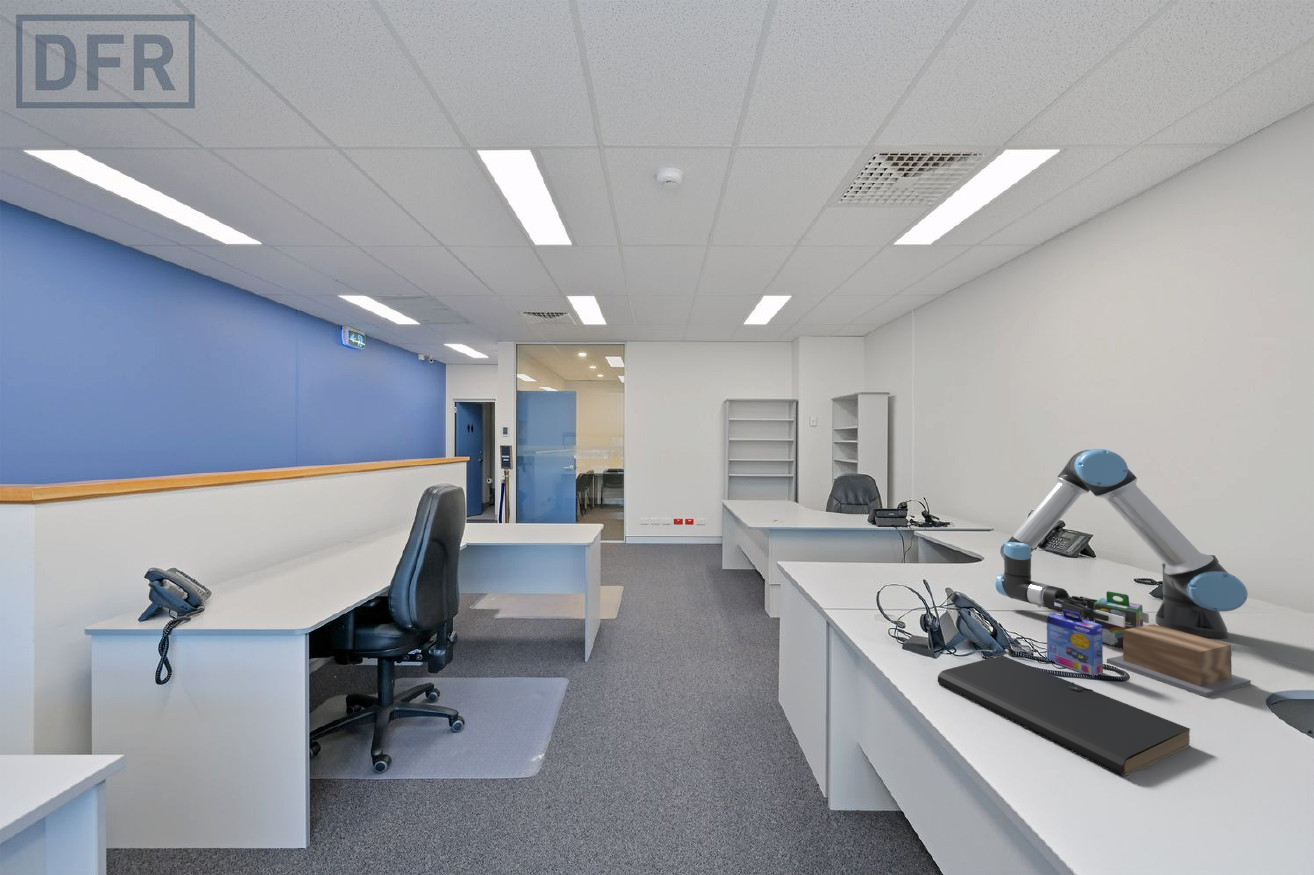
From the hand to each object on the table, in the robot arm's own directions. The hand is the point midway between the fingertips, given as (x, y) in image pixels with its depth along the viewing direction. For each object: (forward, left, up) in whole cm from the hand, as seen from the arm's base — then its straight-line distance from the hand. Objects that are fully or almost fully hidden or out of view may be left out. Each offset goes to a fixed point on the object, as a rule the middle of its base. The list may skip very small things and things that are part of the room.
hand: (1136, 620), depth 132 cm
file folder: (+62, +14, -9) cm, 64 cm away
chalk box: (0, -4, -8) cm, 9 cm away
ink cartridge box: (+32, +2, -8) cm, 33 cm away
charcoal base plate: (+10, +12, -8) cm, 18 cm away
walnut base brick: (+10, +12, -8) cm, 18 cm away
